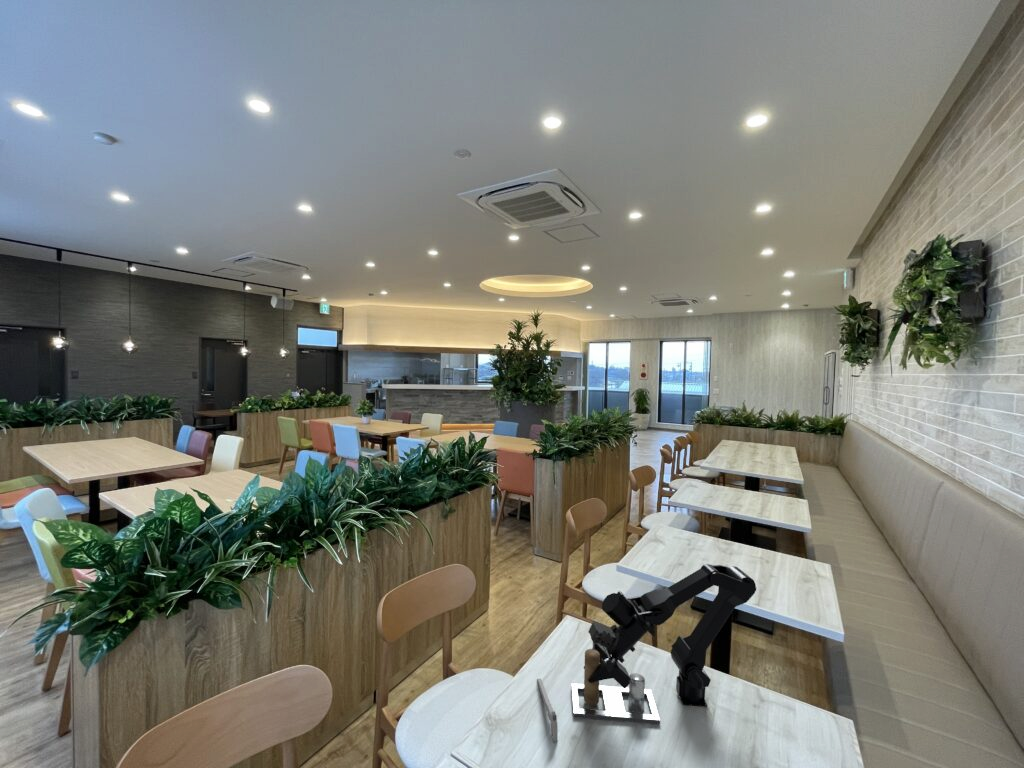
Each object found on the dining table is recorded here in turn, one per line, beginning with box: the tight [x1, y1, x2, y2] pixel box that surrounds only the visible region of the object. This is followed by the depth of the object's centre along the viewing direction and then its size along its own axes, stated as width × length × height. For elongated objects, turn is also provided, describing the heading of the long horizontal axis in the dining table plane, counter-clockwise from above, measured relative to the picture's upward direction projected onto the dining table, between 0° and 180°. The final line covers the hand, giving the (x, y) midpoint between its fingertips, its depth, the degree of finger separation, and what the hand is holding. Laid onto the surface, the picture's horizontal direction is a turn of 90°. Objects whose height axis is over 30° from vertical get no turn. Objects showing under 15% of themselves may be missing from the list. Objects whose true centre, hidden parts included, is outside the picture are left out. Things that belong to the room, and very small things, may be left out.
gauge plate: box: [571, 682, 661, 725], centre depth 114 cm, size 22×10×1 cm, turn 85°
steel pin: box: [627, 672, 646, 714], centre depth 114 cm, size 4×4×8 cm
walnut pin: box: [583, 648, 600, 707], centre depth 114 cm, size 4×4×13 cm
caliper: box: [536, 678, 559, 743], centre depth 113 cm, size 20×1×6 cm, turn 8°
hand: (586, 675), depth 114 cm, fingers closed on walnut pin, 4 cm apart
